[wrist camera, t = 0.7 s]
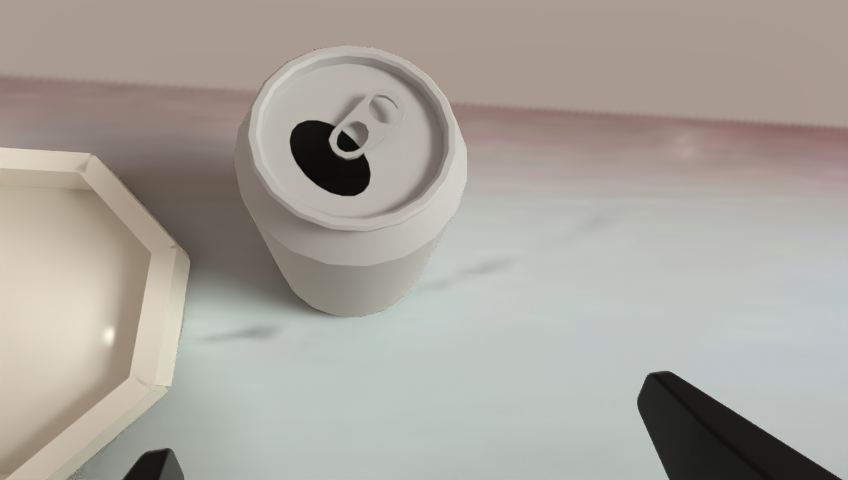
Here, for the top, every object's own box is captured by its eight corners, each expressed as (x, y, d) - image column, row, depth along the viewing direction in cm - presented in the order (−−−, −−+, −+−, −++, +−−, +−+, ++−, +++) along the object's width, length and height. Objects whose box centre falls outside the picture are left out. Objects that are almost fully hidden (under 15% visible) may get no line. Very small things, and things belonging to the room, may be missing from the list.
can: (247, 243, 24) (161, 109, 13) (358, 158, 27) (364, -16, 16) (346, 352, 24) (344, 308, 12) (451, 254, 26) (531, 142, 15)
